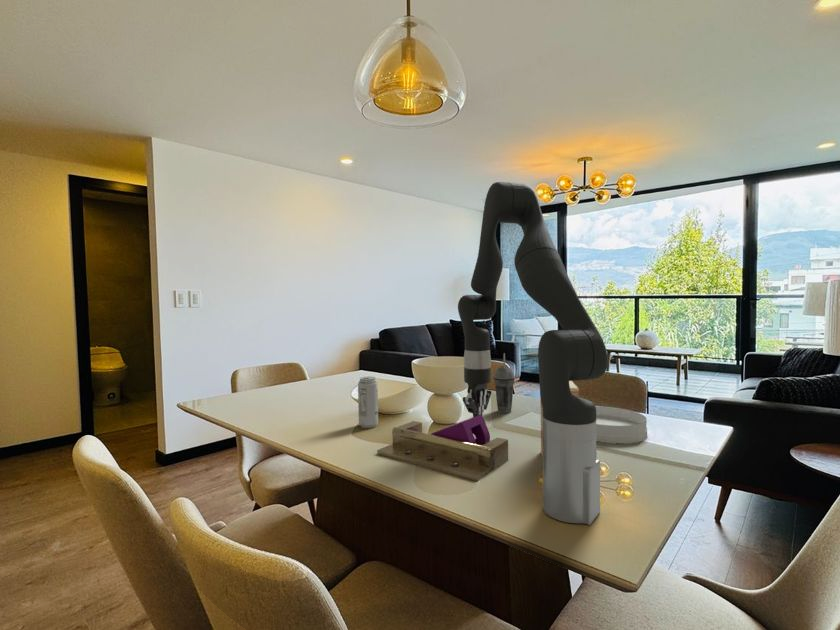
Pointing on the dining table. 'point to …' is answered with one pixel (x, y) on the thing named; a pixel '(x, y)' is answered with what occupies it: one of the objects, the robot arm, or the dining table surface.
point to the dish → (619, 425)
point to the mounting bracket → (467, 431)
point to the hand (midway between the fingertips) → (477, 426)
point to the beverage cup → (504, 388)
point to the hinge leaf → (445, 452)
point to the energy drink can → (368, 402)
